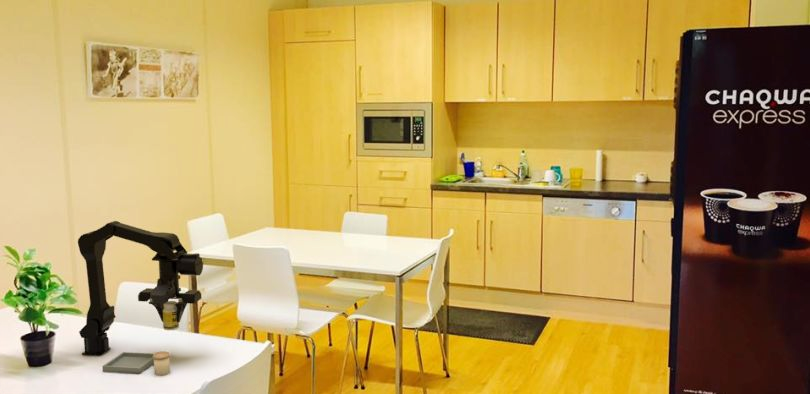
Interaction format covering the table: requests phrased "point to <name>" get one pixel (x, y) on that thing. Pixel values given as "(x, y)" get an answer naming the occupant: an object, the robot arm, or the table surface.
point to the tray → (129, 363)
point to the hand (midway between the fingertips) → (171, 322)
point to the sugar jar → (161, 363)
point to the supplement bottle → (170, 316)
